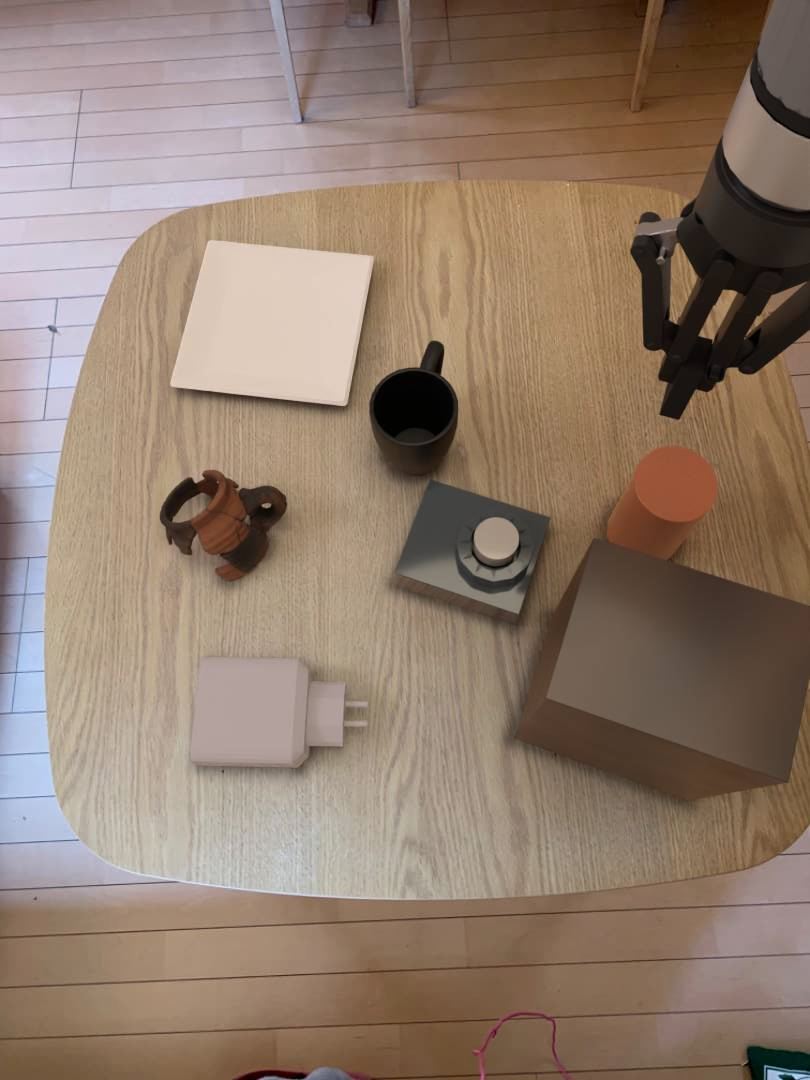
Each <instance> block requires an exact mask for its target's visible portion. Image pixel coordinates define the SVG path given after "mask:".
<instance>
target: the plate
mask: <svg viewBox="0 0 810 1080" xmlns="http://www.w3.org/2000/svg"><path fill="white" fill-rule="evenodd" d="M374 261H375V257H374V256H373V255H370V254H358V253H349V252H348V253H347V252H338V251H330V250H329V251H328V250H317V249H309V248H297V247H287V246H278V245H266V244H256V243H247V242H237V241H225V240H216V239H209V240H208V241H207V243H206V246H205V251H204V253H203V258H202V261H201V266H200V269H199V273H198V277H197V281H196V284H195V289H194V292H193V297H192V300H191V304H190V307H189V310H188V314H187V318H186V322H185V325H184V330H183V334H182V337H181V340H180V345H179V348H178V352H177V355H176V360H175V364H174V367H173V371H172V374H171V378H170V383H169V385H170V387H171V388H178V389H189V390H197V391H206V392H215V393H223V394H232V395H240V396H250V397H259V398H269V399H278V400H287V401H295V402H303V403H304V402H305V403H314V404H323V405H330V406H331V405H332V406H341V407H345V406H346V405H348V402H349V396H350V391H351V386H352V380H353V374H354V370H355V365H356V359H357V353H358V348H359V342H360V338H361V332H362V325H363V321H364V316H365V310H366V304H367V299H368V293H369V288H370V284H371V277H372V273H373V267H374V263H375V262H374Z"/></svg>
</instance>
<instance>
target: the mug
mask: <svg viewBox="0 0 810 1080" xmlns="http://www.w3.org/2000/svg"><path fill="white" fill-rule="evenodd" d="M444 359H445V345H444V344H443V343H442V342H440V341H439V340H431V341H429V343H428V344H427V346H426V348H425V351H424V353H423V355H422V359H421V362H420V365H419V367H418V366H416V367H405V368H401V369H397V370H395V371H392V372H390V373H389V374H387V375H386V376H384V377H383V378H382V379H381V380H380V381H379V382H378V383H377V384H376V386H375V387H374V390H373V391H372V393H371V395H370V399H369V404H368V413H369V420H370V425H371V426H370V427H371V430H372V435H373V438H374V441H375V443H376V444H377V446H378V448H379V450H380V452H381V453H382V454H383V456H384V457H385V458H386V459H387V461H388V462H390V464H391V465H392V466H393V467H394V468H395V469H396V470H397V471H398V472H400V473H402V474H405V475H406V476H412V477H413V476H424V475H426V474H428V473H430V472H432V471H434V469H436V468H437V466H438V465H440V463H441V461H443V459H444V457H446V455H447V454H448V452H449V450H450V447H451V446H452V445H453V442H454V440H455V437H456V433H457V428H458V423H459V422H458V421H459V400H458V395H457V392H456V390H455V389H454V388H453V386H452V384H451V383H450V382H449V381H448V380H447V379H446V378H445V377H444V376H442V371H443V366H444V365H443V364H444Z"/></svg>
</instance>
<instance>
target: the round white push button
mask: <svg viewBox="0 0 810 1080" xmlns="http://www.w3.org/2000/svg"><path fill="white" fill-rule="evenodd" d="M518 544H519V534H518V531H517V529H516V527H515V526H514V525H513V524H512V523H511V522H510V521H508V520H506V519H503V518H498V517H494V518H489V519H486V520H484V521H483V522H481V523H480V524H479V525H478V527H477V528H476V530H475V533H474V540H473V550H474V553H475V555H476V557H477V558H478V559H479V560H480V561H481V562H482V563H484V564H486V565H489V566H494V567H497V566H503V565H505V564H507V563H509V562H510V561H511V560H512V559H513V558H514V556H515V554H516V551H517V548H518Z"/></svg>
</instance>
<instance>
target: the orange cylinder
mask: <svg viewBox="0 0 810 1080" xmlns="http://www.w3.org/2000/svg"><path fill="white" fill-rule="evenodd" d="M718 493H719V484H718V478H717V475H716V473H715V470H714V469H713V467H712V466H711V464H710V463H709V461H707V459H705V458H704V457H703V456H702V455H700V454H699V453H697V452H695V451H694V450H692V449H690V448H687V447H686V448H685V447H683V446H677V445H676V446H674V445H672V446H671V445H669V446H662V447H659V448H656V449H653V450H652V451H650V452H648V453H647V454H645V456H643V457H642V459H640V461H639V463H638V464H637V466H636V468H635V469H634V471H633V473H632V475H631V477H630V479H629V480H628V483H627V484H626V487H625V488H624V489H623V492H622V494H621V495H620V497H619V499H618V501H617V503H616V504H615V507H614V508H613V510H612V512H611V514H610V516H609V518H608V520H607V524H606V537H607V541H608V542H611V543H614V544H617V545H620V546H623V547H626V548H630V549H633V550H636V551H639V552H642V553H645V554H648V555H652V556H655V557H658V558H661V559H664V560H667V561H669V559H670V558H671V557H672V556H673V555H674V553H676V551H677V550H679V548H680V547H681V546H682V544H683V543H684V542H685V540H686V539H688V537H689V535H690V534H691V533H692V532H693V531H694V530H695V528H696V527H697V526H698V525H699V524H700V522H701V521H702V520H703V519H704V518H705V516H706V515H707V514H708V513H709V512H710V510H711V509H712V507H713V506H714V504H715V503H716V501H717V498H718Z"/></svg>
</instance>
